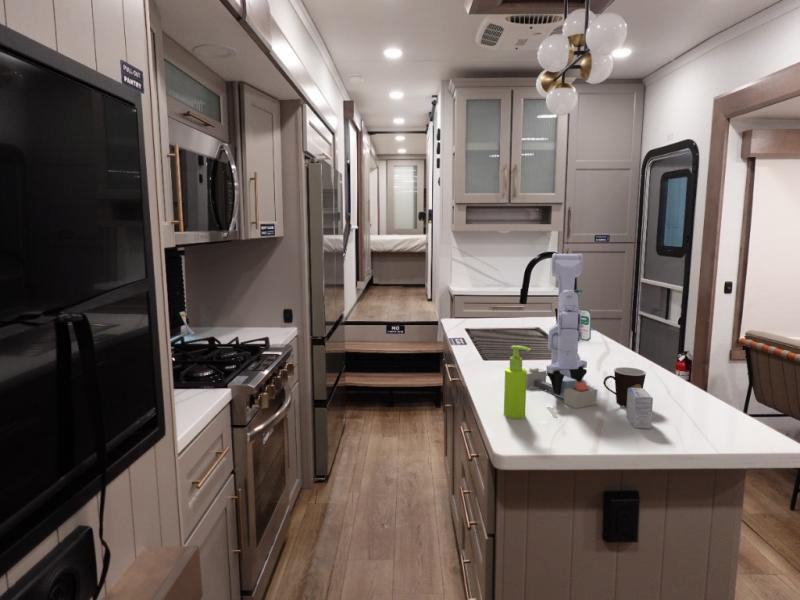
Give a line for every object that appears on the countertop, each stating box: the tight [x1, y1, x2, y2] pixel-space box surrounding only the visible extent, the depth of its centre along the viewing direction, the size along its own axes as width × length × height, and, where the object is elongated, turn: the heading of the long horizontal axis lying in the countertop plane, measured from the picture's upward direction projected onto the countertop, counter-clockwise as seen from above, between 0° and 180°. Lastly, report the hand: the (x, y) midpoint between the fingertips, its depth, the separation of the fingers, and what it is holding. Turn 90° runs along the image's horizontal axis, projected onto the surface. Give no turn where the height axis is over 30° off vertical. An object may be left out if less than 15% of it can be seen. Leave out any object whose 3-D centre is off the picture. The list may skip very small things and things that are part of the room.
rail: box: [533, 379, 554, 395], centre depth 159 cm, size 2×17×2 cm, turn 25°
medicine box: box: [625, 388, 654, 430], centre depth 134 cm, size 8×4×9 cm, turn 170°
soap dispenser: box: [503, 344, 532, 420], centre depth 139 cm, size 6×7×20 cm
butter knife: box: [546, 407, 559, 419], centre depth 138 cm, size 1×24×3 cm
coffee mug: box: [603, 366, 647, 407], centre depth 150 cm, size 12×9×10 cm
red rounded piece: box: [575, 380, 587, 392], centre depth 149 cm, size 3×3×4 cm
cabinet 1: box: [526, 366, 547, 388], centre depth 168 cm, size 8×3×6 cm, turn 115°
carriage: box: [553, 376, 577, 400], centre depth 155 cm, size 4×5×6 cm
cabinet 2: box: [563, 385, 598, 409], centre depth 149 cm, size 8×5×4 cm, turn 115°
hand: (565, 392), depth 155 cm, fingers open, 7 cm apart
